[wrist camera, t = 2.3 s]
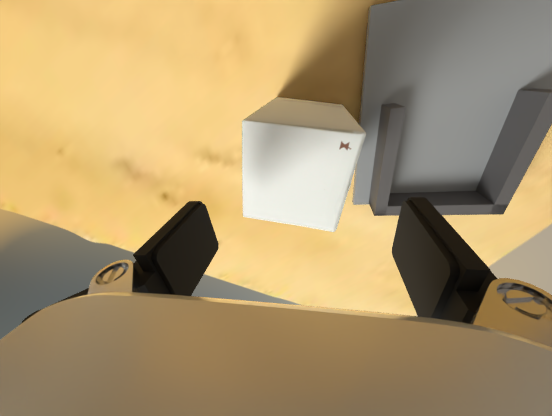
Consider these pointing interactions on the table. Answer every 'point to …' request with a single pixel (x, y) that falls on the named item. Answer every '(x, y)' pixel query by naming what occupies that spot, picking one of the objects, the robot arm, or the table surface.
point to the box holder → (453, 102)
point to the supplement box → (299, 162)
